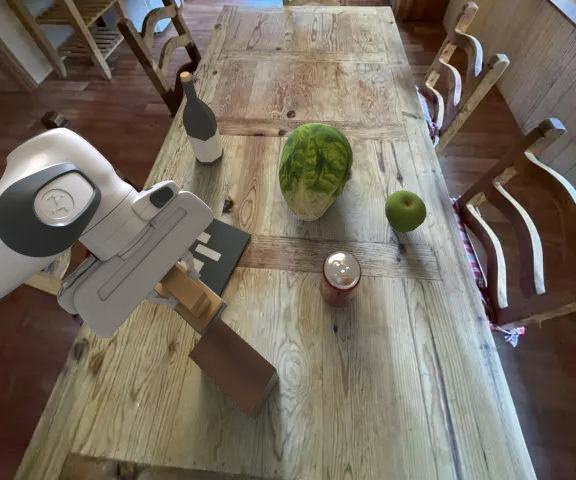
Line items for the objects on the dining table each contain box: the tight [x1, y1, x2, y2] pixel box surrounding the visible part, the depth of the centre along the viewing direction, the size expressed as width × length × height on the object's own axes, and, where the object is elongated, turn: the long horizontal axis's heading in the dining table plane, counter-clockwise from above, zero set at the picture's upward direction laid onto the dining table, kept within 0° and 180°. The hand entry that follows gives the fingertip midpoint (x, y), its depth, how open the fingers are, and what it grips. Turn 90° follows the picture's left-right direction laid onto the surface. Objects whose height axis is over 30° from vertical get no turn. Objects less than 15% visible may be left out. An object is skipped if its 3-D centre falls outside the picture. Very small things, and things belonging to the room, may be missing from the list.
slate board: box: [178, 217, 252, 298], centre depth 76 cm, size 18×16×1 cm
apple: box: [384, 189, 427, 234], centre depth 77 cm, size 9×8×12 cm
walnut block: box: [187, 317, 280, 422], centre depth 58 cm, size 7×13×11 cm, turn 55°
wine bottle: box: [179, 71, 224, 166], centre depth 87 cm, size 8×8×30 cm
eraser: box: [154, 261, 228, 338], centre depth 51 cm, size 5×11×8 cm, turn 55°
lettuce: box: [278, 122, 354, 222], centre depth 83 cm, size 18×23×19 cm
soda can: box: [319, 249, 363, 309], centre depth 67 cm, size 7×7×12 cm
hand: (186, 291), depth 50 cm, fingers closed on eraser, 3 cm apart
